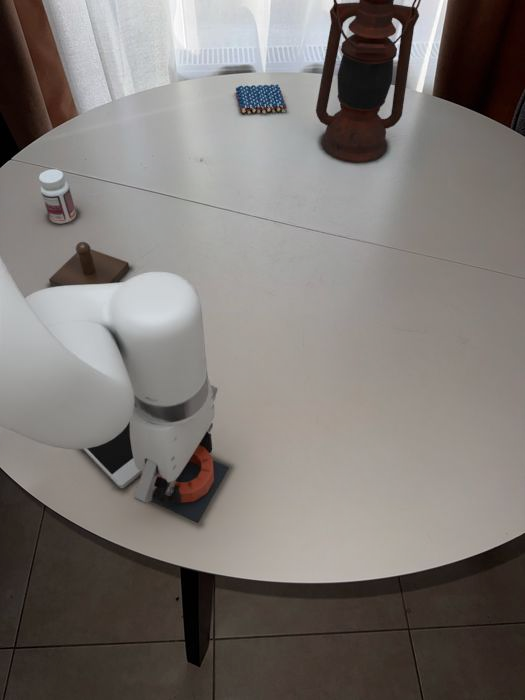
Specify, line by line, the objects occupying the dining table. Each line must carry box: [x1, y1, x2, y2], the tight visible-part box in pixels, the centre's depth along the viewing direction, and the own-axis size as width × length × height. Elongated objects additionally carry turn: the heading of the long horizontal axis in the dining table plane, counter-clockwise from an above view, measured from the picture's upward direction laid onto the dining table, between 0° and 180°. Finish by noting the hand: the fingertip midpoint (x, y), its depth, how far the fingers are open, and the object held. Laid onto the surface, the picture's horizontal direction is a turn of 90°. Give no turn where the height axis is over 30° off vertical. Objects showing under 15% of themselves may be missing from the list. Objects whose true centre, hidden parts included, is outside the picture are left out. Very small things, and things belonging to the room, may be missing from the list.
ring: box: [158, 445, 214, 503], centre depth 70 cm, size 7×7×2 cm
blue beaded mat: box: [235, 83, 287, 115], centre depth 132 cm, size 10×11×2 cm
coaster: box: [150, 459, 230, 523], centre depth 71 cm, size 8×8×1 cm
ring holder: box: [48, 241, 131, 287], centre depth 92 cm, size 9×9×7 cm
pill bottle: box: [38, 168, 77, 225], centre depth 101 cm, size 5×5×8 cm
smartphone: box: [82, 421, 143, 489], centre depth 75 cm, size 7×16×1 cm, turn 46°
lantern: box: [315, 0, 422, 164], centre depth 111 cm, size 17×14×30 cm
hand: (184, 472), depth 70 cm, fingers closed on ring, 6 cm apart
